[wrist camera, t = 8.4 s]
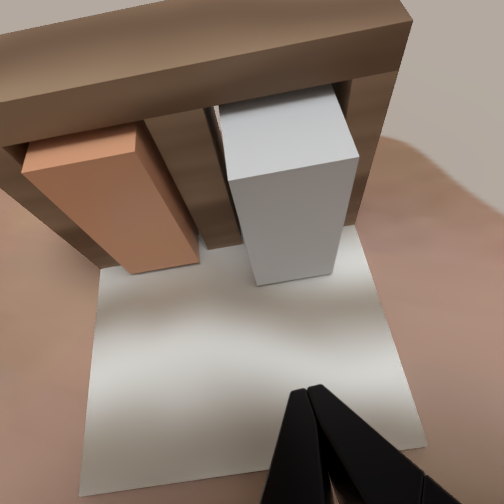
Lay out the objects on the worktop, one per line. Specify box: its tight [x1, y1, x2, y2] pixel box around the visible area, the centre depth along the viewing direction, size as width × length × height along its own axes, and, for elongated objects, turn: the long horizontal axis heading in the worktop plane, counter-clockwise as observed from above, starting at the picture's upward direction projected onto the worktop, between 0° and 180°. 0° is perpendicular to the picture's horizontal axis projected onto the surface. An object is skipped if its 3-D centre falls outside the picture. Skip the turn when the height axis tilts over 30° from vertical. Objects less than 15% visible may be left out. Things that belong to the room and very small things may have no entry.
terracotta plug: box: [21, 120, 200, 274], centre depth 16 cm, size 6×4×8 cm, turn 8°
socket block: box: [0, 0, 429, 497], centre depth 13 cm, size 15×15×11 cm
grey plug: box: [219, 83, 359, 286], centre depth 15 cm, size 6×4×8 cm, turn 8°
